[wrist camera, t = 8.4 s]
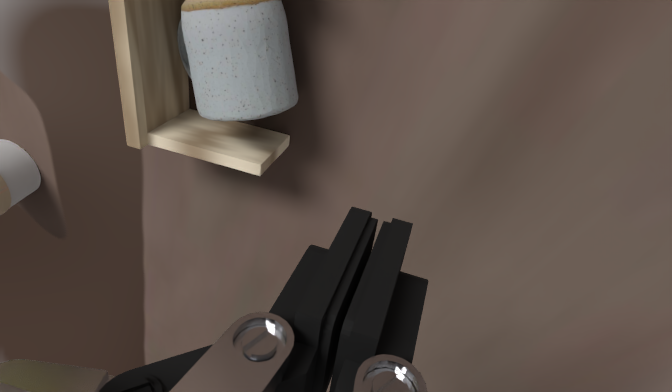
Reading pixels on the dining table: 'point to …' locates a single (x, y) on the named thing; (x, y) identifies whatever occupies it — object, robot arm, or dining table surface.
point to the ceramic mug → (237, 58)
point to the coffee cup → (16, 174)
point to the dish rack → (176, 94)
